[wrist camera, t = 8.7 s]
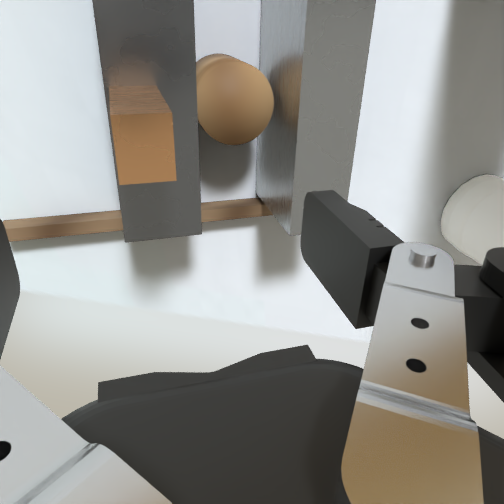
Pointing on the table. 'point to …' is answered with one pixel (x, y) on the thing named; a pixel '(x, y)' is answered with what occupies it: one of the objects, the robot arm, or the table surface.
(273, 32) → the grey rectangular block
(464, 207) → the bottle
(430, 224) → the table surface
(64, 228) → the press frame
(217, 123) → the nut
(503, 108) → the table surface
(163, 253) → the table surface
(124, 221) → the press jaw
